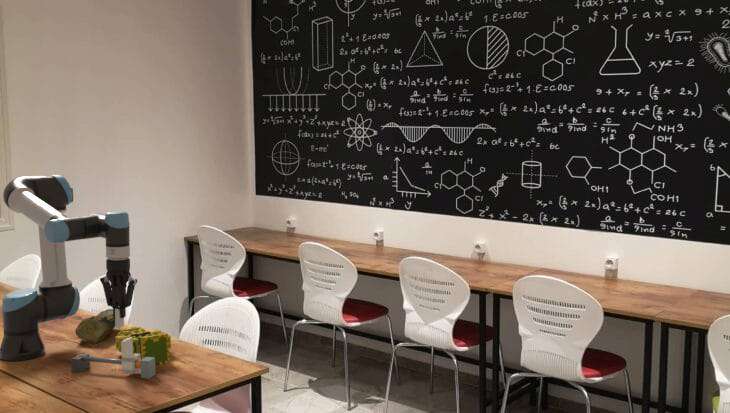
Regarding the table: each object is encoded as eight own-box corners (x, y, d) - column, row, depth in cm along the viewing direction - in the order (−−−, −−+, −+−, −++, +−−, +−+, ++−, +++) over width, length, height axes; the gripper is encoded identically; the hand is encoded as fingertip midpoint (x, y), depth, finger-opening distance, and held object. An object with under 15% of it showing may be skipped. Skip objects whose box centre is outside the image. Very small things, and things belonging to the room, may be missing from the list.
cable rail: (71, 371, 252) (70, 354, 252) (82, 366, 258) (81, 349, 257) (147, 379, 245) (147, 362, 245) (157, 373, 251) (156, 356, 250)
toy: (149, 319, 289) (178, 332, 264) (151, 345, 289) (180, 360, 265) (105, 326, 279) (131, 340, 255) (107, 353, 280) (133, 369, 255)
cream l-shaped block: (122, 372, 248) (121, 341, 247) (130, 367, 253) (129, 337, 252) (132, 373, 247) (131, 342, 246) (141, 368, 252) (140, 338, 251)
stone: (114, 344, 284) (130, 318, 308) (104, 317, 281) (120, 292, 305) (77, 354, 284) (96, 327, 308) (67, 327, 281) (86, 301, 305)
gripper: (94, 258, 244) (96, 328, 247) (129, 261, 241) (130, 331, 244) (107, 254, 251) (109, 322, 254) (141, 257, 248) (143, 325, 251)
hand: (119, 326), depth 249 cm, fingers closed
